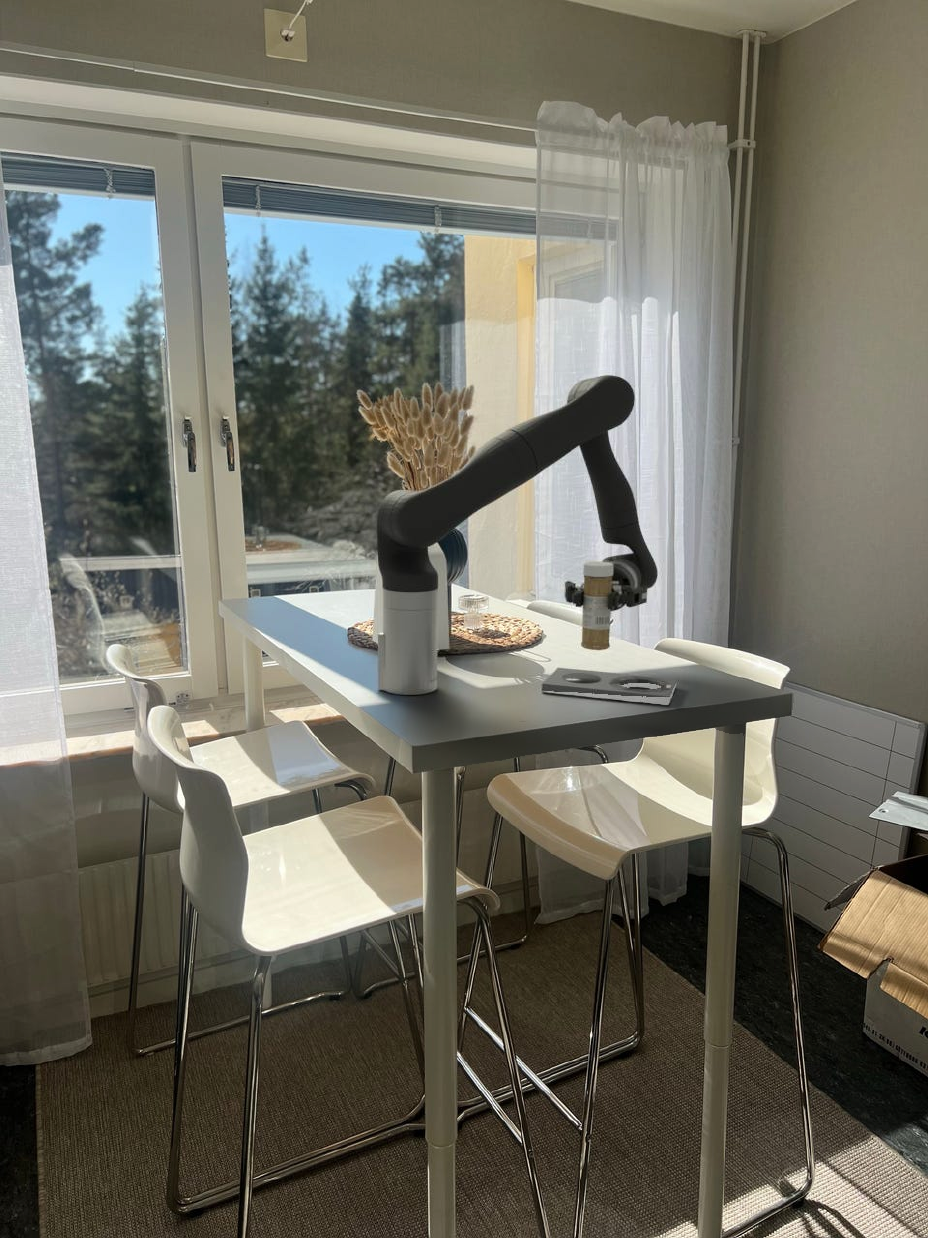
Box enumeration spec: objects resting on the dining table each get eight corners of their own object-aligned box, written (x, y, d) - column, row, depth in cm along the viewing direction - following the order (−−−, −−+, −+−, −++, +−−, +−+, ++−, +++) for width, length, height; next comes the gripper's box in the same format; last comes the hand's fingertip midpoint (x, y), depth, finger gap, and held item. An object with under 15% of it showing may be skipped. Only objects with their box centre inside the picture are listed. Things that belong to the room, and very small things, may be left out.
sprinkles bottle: (606, 644, 145) (610, 560, 143) (612, 651, 141) (616, 564, 138) (577, 644, 145) (581, 560, 142) (583, 650, 141) (586, 564, 138)
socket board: (541, 692, 153) (542, 682, 153) (557, 676, 164) (558, 667, 164) (668, 706, 146) (669, 695, 146) (676, 688, 158) (677, 678, 157)
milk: (424, 639, 194) (425, 516, 189) (449, 650, 184) (451, 521, 179) (372, 644, 188) (372, 517, 183) (394, 655, 178) (395, 522, 173)
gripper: (572, 560, 156) (549, 574, 140) (656, 566, 152) (642, 580, 136) (570, 603, 158) (547, 621, 142) (654, 610, 153) (639, 629, 137)
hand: (594, 601), depth 139 cm, fingers closed on sprinkles bottle, 4 cm apart
